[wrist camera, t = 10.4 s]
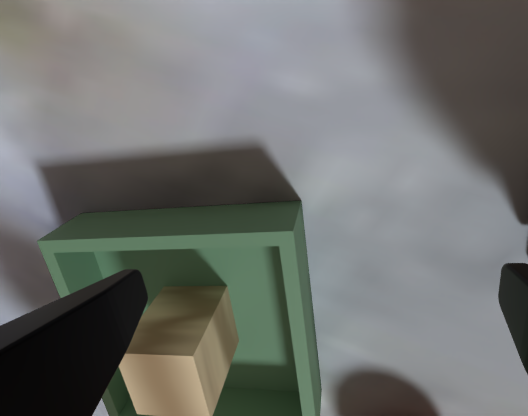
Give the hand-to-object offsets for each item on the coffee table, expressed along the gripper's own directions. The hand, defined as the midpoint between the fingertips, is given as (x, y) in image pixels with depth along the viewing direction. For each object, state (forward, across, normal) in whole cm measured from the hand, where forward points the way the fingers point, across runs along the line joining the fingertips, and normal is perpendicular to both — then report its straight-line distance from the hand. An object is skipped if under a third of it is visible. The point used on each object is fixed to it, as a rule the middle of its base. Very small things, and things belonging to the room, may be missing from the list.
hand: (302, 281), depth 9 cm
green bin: (+12, +9, +10) cm, 18 cm away
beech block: (+11, +9, +10) cm, 17 cm away
